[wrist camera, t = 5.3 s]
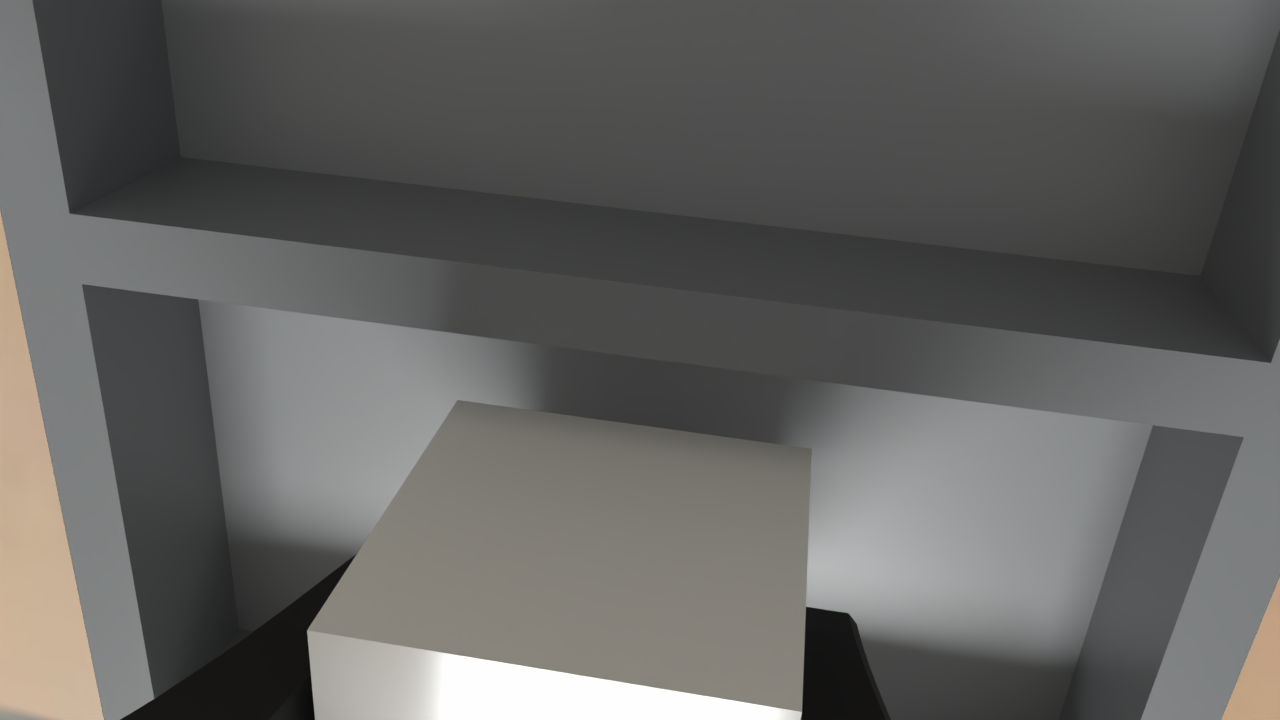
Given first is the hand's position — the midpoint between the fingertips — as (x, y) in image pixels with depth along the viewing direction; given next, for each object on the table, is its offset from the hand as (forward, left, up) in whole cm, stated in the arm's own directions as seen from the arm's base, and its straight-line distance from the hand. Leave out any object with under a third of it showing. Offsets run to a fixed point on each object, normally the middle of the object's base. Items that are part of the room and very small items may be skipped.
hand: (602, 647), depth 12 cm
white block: (0, 0, -1) cm, 1 cm away
